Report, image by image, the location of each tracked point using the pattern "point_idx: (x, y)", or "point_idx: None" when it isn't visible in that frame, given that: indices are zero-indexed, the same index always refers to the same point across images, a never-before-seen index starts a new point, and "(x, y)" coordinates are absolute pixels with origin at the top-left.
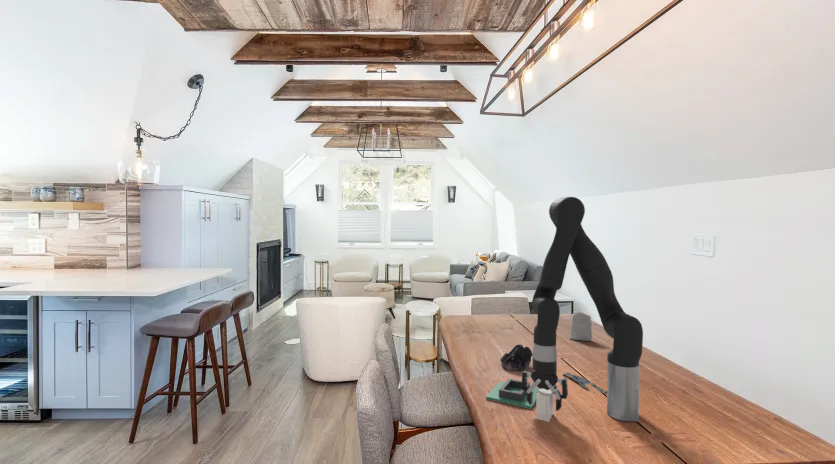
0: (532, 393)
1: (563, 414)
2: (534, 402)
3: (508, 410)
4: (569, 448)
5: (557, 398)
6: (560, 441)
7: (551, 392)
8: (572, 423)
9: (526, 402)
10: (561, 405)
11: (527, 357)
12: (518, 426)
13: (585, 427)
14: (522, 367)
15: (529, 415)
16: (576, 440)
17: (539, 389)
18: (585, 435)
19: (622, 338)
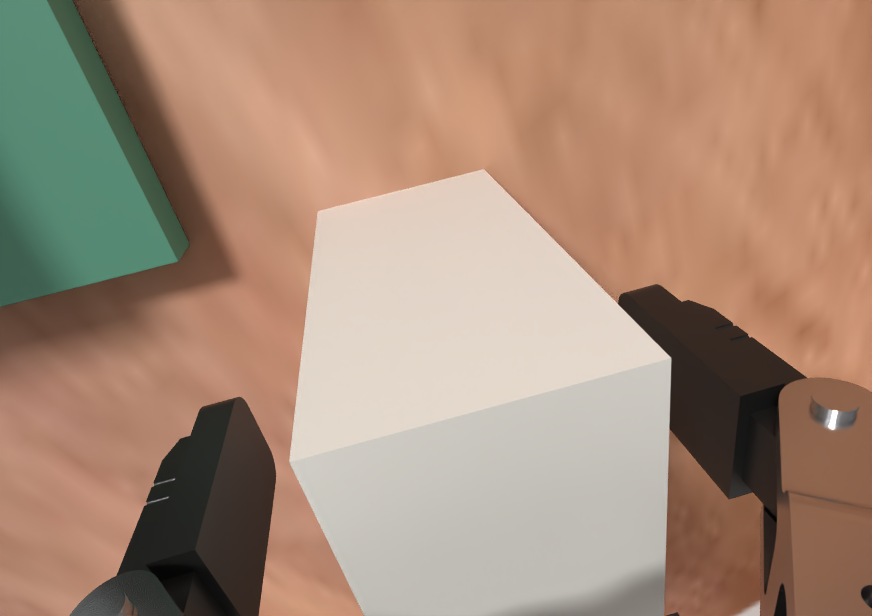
0: (209, 536)
1: (606, 76)
2: (78, 47)
3: (22, 457)
4: (739, 561)
5: (772, 514)
6: (676, 541)
7: (665, 508)
8: (736, 237)
9: (12, 193)
10: (723, 317)
11: None
12: (336, 591)
13: (863, 226)
14: None
15: (282, 394)
16: None
17: (339, 562)
18: (849, 362)
19: None
